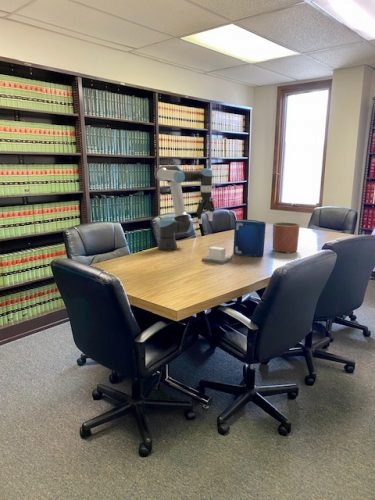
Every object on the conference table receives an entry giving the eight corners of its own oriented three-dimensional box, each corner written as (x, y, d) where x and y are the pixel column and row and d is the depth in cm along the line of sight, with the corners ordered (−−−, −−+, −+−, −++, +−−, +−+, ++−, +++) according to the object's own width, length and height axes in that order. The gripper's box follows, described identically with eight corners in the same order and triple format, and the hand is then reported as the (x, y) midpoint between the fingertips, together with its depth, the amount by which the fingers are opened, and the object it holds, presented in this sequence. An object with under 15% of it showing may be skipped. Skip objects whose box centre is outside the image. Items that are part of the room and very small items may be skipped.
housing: (208, 258, 248) (208, 248, 246) (212, 256, 252) (212, 246, 250) (221, 260, 242) (221, 249, 241) (225, 258, 247) (225, 248, 245)
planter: (266, 250, 274) (267, 224, 270) (279, 246, 288) (280, 221, 283) (290, 254, 262) (291, 227, 257) (302, 250, 275) (304, 223, 271)
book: (265, 255, 261) (266, 220, 255) (263, 257, 254) (265, 221, 249) (234, 253, 268) (235, 219, 262) (232, 255, 261) (233, 220, 256)
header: (201, 260, 247) (201, 253, 246) (211, 257, 257) (211, 250, 256) (222, 264, 238) (222, 256, 237) (231, 260, 248) (231, 253, 247)
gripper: (201, 193, 240) (200, 225, 245) (220, 190, 259) (219, 220, 265) (191, 192, 244) (191, 224, 249) (210, 189, 264) (210, 219, 269)
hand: (205, 222), depth 257 cm, fingers open, 13 cm apart
